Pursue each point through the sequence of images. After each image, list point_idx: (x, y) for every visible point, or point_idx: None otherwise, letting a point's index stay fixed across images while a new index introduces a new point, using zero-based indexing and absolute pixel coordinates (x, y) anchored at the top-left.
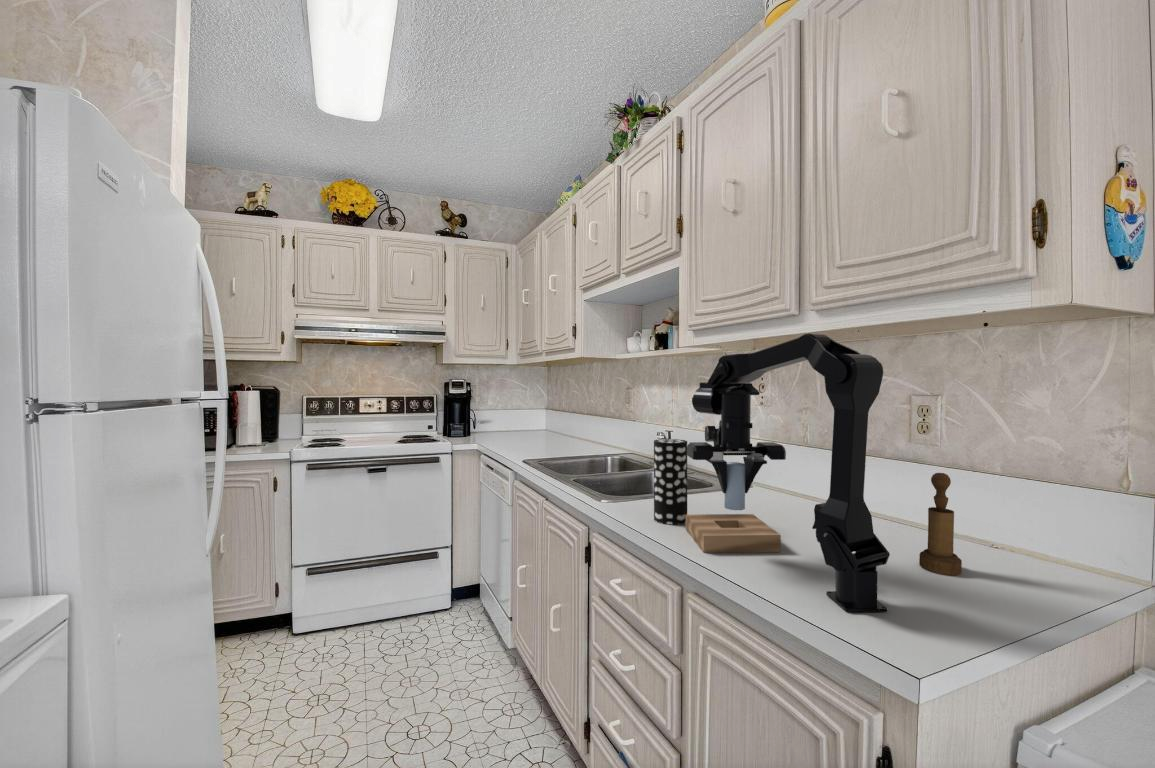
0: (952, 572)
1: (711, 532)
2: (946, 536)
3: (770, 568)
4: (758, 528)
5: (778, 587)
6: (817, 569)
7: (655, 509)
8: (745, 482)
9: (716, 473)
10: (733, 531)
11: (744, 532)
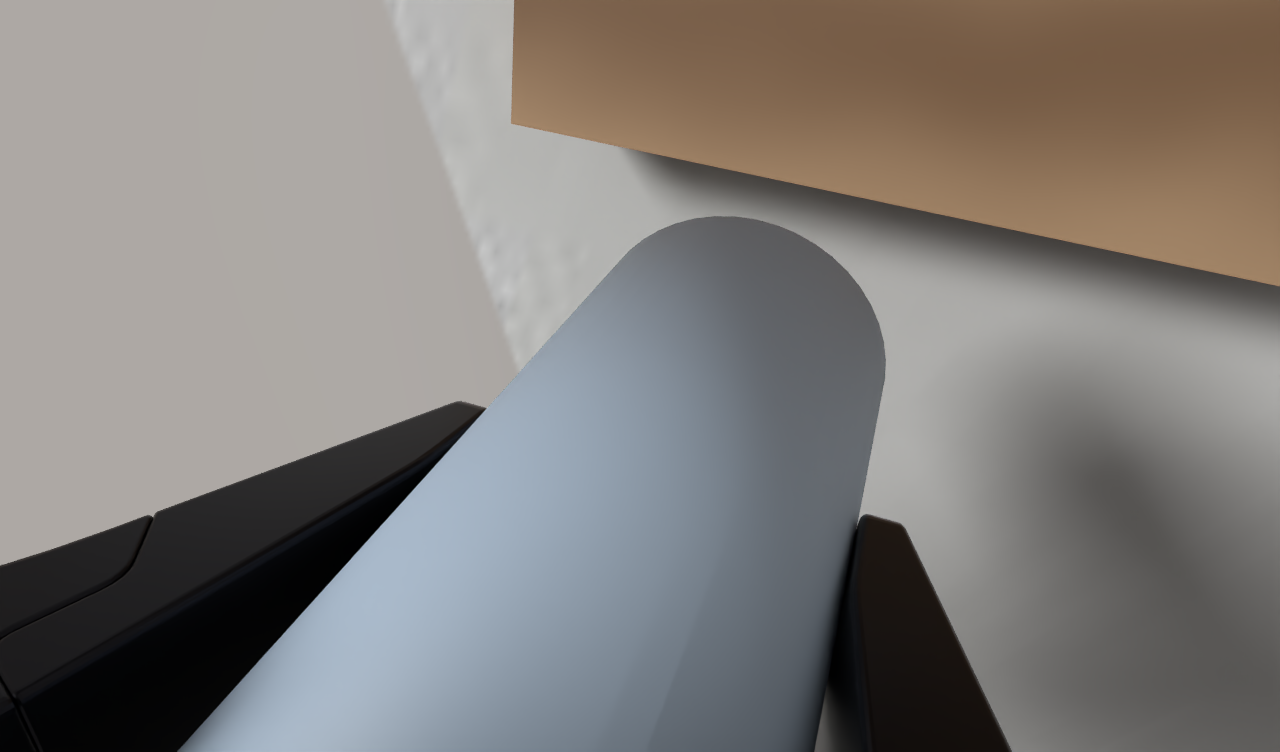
0: None
1: (624, 32)
2: None
3: (918, 502)
4: None
5: None
6: (1263, 627)
7: None
8: (823, 747)
9: (77, 549)
10: (893, 48)
11: (1007, 115)
